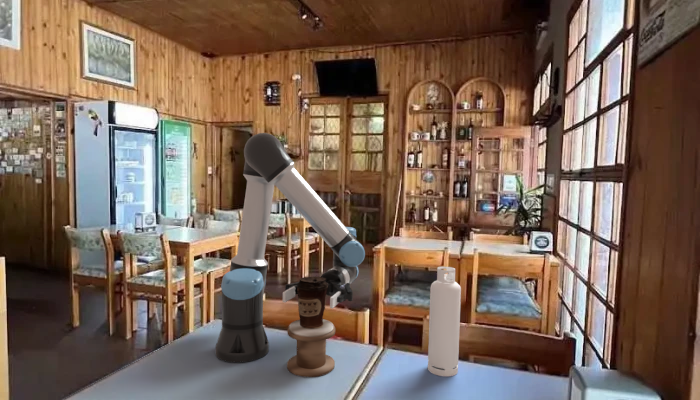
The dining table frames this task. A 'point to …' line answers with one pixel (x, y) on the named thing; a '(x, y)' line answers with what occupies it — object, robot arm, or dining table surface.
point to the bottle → (444, 323)
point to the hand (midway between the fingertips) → (307, 300)
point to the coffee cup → (311, 301)
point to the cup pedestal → (311, 350)
